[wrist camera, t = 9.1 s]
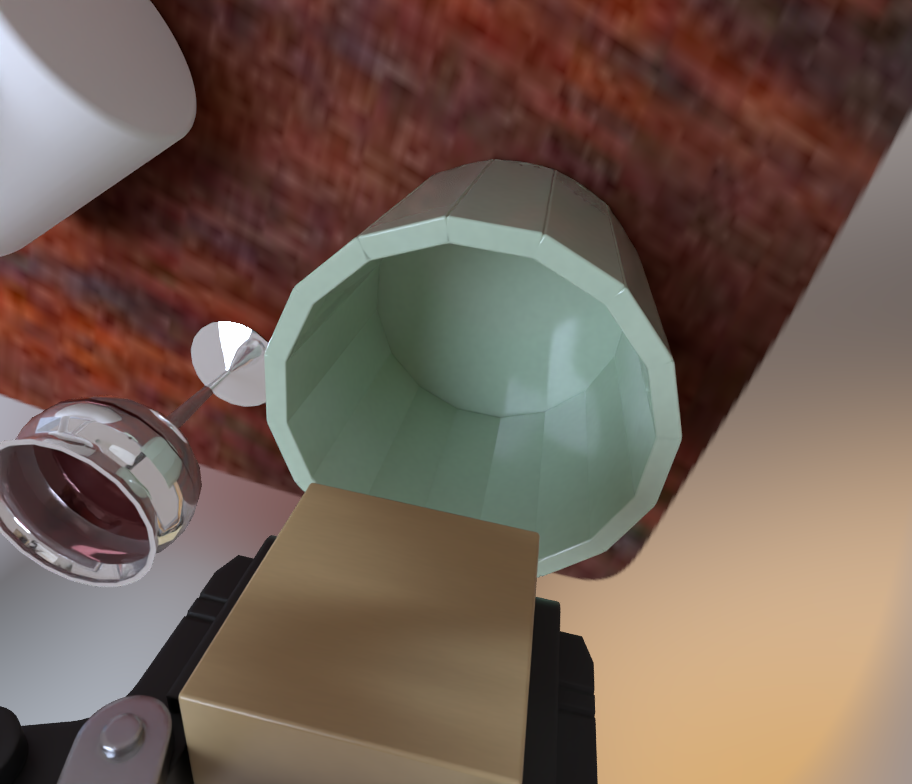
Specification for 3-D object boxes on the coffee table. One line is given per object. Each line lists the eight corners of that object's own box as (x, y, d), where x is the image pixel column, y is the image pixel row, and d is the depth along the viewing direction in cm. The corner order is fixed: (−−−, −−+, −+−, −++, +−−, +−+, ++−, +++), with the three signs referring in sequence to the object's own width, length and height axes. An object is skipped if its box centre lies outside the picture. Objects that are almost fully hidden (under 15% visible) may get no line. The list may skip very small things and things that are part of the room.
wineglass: (306, 425, 32) (179, 599, 22) (192, 416, 33) (18, 577, 23) (286, 307, 29) (124, 445, 18) (159, 301, 30) (-60, 429, 19)
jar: (681, 188, 23) (750, 269, 14) (600, 444, 29) (612, 614, 20) (375, 136, 24) (256, 181, 15) (360, 394, 30) (270, 535, 21)
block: (540, 531, 11) (522, 786, 7) (500, 677, 13) (469, 930, 9) (310, 480, 11) (175, 695, 8) (309, 631, 14) (205, 855, 10)
